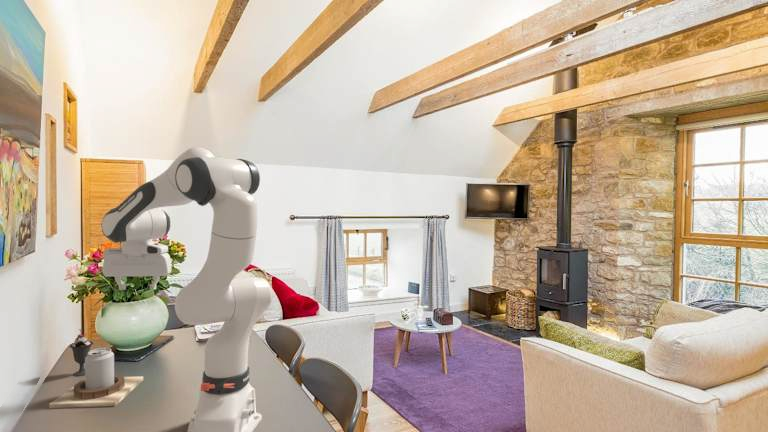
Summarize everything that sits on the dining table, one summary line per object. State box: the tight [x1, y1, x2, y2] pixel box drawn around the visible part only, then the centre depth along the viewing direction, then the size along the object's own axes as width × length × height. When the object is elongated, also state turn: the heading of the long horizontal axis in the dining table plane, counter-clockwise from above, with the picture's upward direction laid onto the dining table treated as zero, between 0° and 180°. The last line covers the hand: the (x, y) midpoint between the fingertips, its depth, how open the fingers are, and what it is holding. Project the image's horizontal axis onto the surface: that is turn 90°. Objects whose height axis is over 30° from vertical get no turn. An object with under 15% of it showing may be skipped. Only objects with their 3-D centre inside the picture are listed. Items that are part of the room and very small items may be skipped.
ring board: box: [48, 373, 144, 409], centre depth 135 cm, size 18×18×3 cm
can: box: [84, 347, 115, 390], centre depth 135 cm, size 8×8×12 cm
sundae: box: [69, 328, 94, 377], centre depth 149 cm, size 7×7×15 cm
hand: (137, 289), depth 143 cm, fingers open, 8 cm apart
